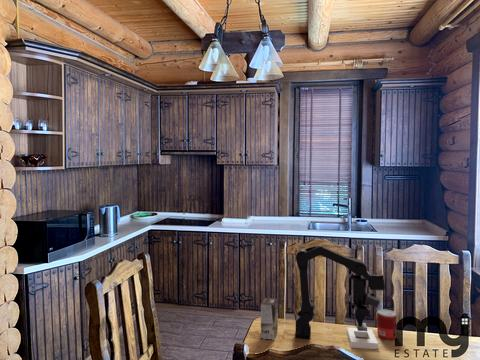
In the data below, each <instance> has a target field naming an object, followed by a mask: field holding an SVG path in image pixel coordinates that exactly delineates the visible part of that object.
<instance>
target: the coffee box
mask: <svg viewBox="0 0 480 360" xmlns="http://www.w3.org/2000/svg"><path fill="white" fill-rule="evenodd" d="M278 303H279V302H278V298H277V297H276V298H275V297H274V298H273V297H264V298H263V299H262V302H260V339H261V338H263V339H262V340H265V339H272V340H271V341H273V340H274V341H275V339H276V337H277V335H276V334H278V332H279V331H278V327H279V325H278V312H279V311H278V306H279V305H278ZM277 331H278V332H277Z"/></svg>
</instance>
